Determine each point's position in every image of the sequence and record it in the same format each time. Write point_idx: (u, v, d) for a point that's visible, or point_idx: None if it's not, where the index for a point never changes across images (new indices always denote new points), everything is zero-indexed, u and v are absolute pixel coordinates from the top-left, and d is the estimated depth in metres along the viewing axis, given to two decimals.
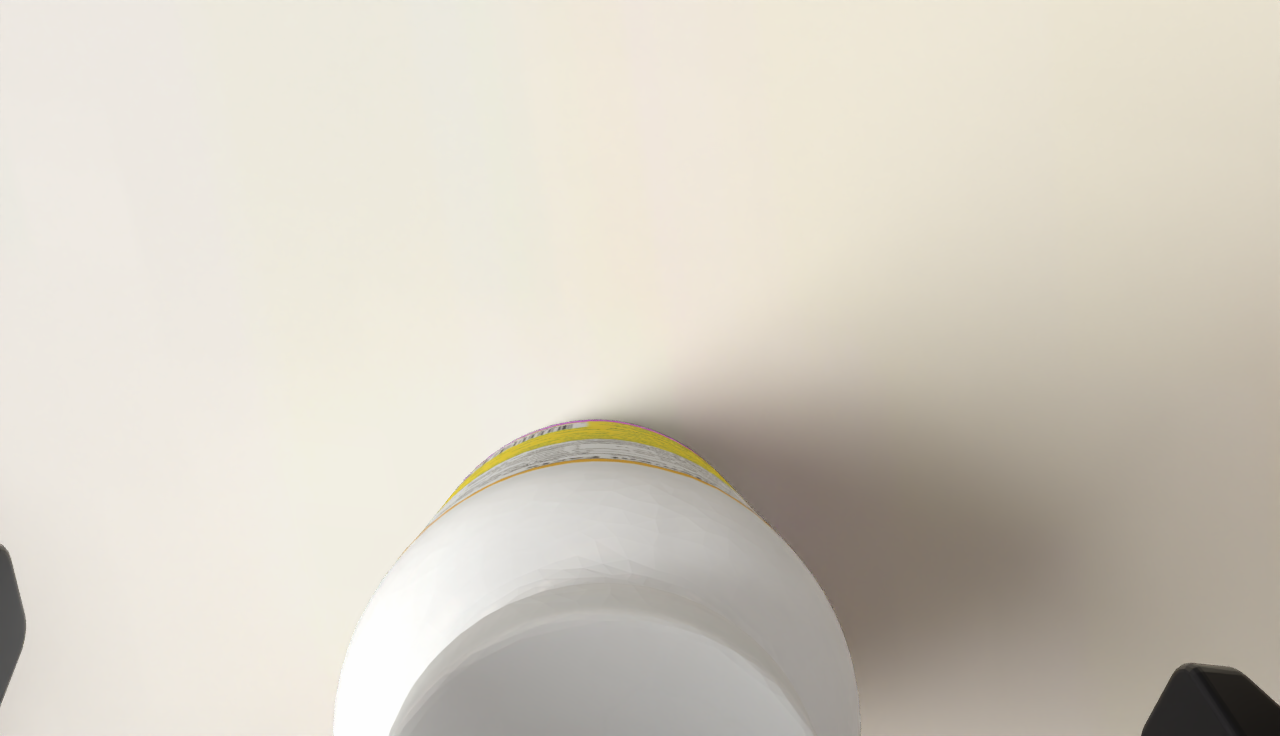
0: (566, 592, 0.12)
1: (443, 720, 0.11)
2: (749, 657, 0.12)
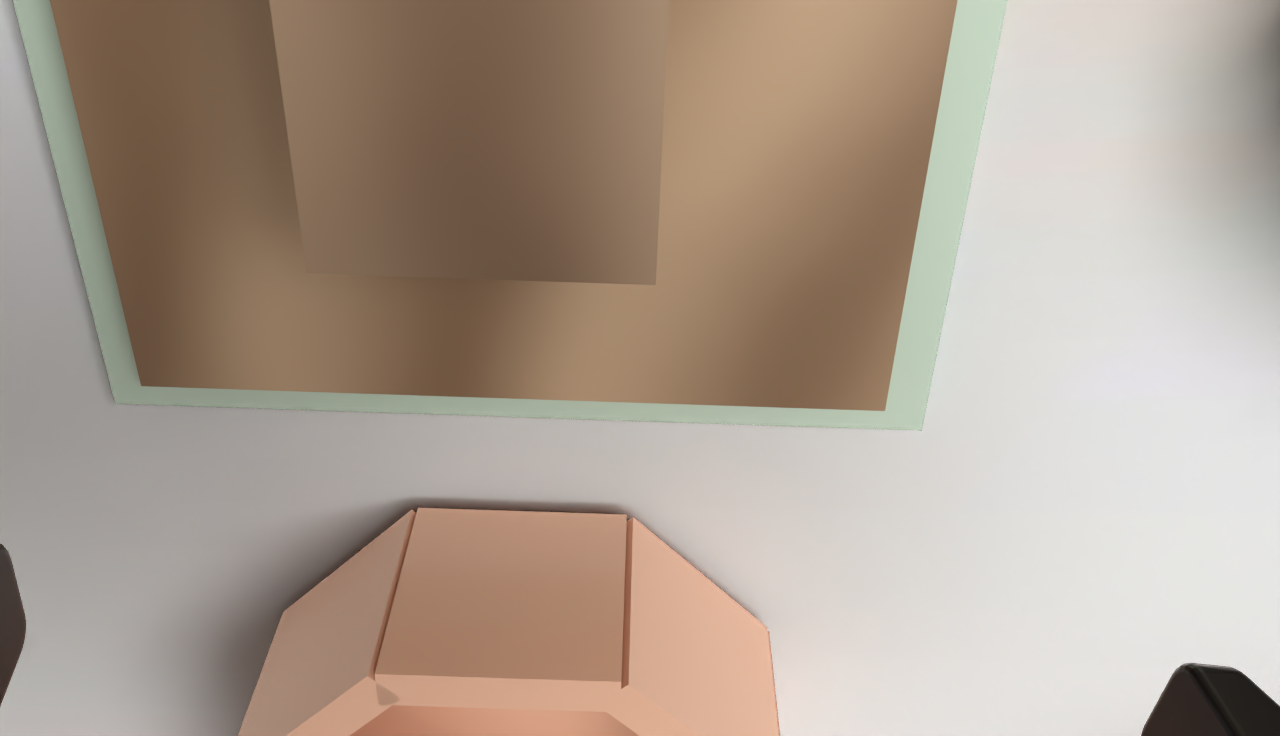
0: None
1: None
2: None
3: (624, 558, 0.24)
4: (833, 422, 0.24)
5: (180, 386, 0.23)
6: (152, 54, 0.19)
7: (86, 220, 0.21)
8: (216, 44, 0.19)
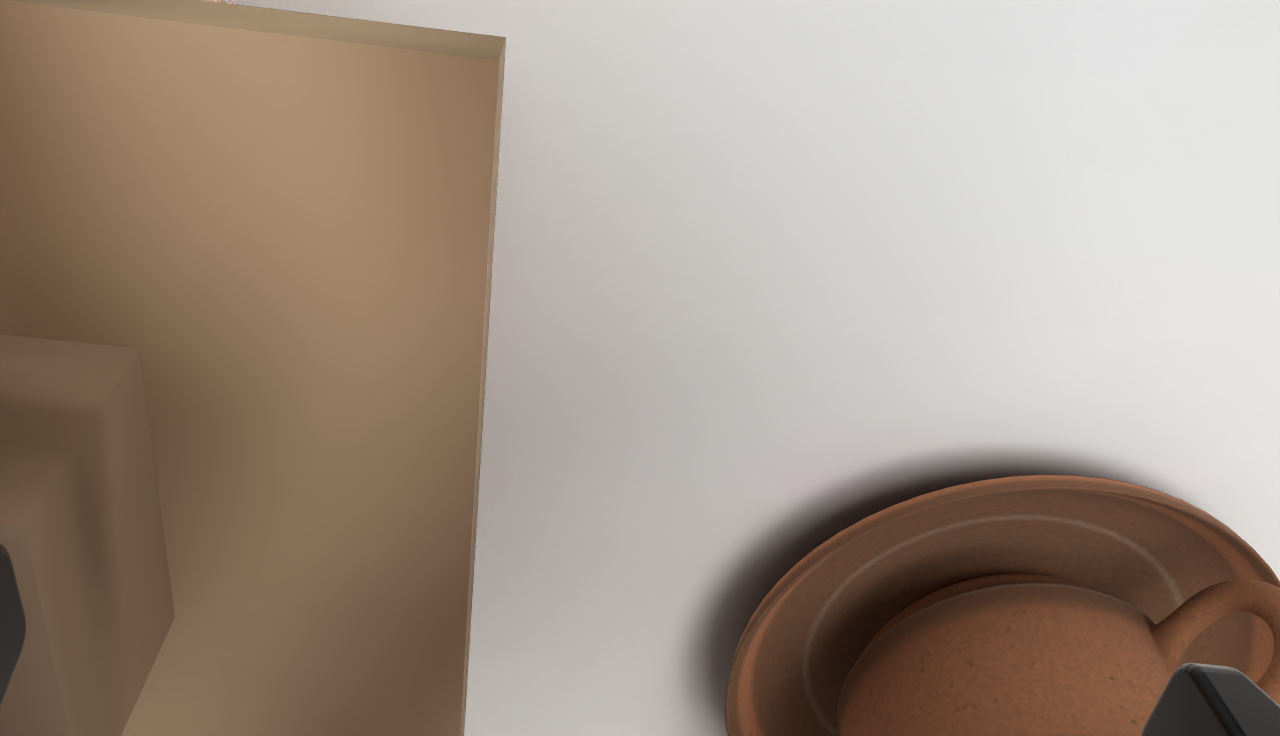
0: None
1: None
2: None
3: None
4: None
5: None
6: None
7: None
8: None
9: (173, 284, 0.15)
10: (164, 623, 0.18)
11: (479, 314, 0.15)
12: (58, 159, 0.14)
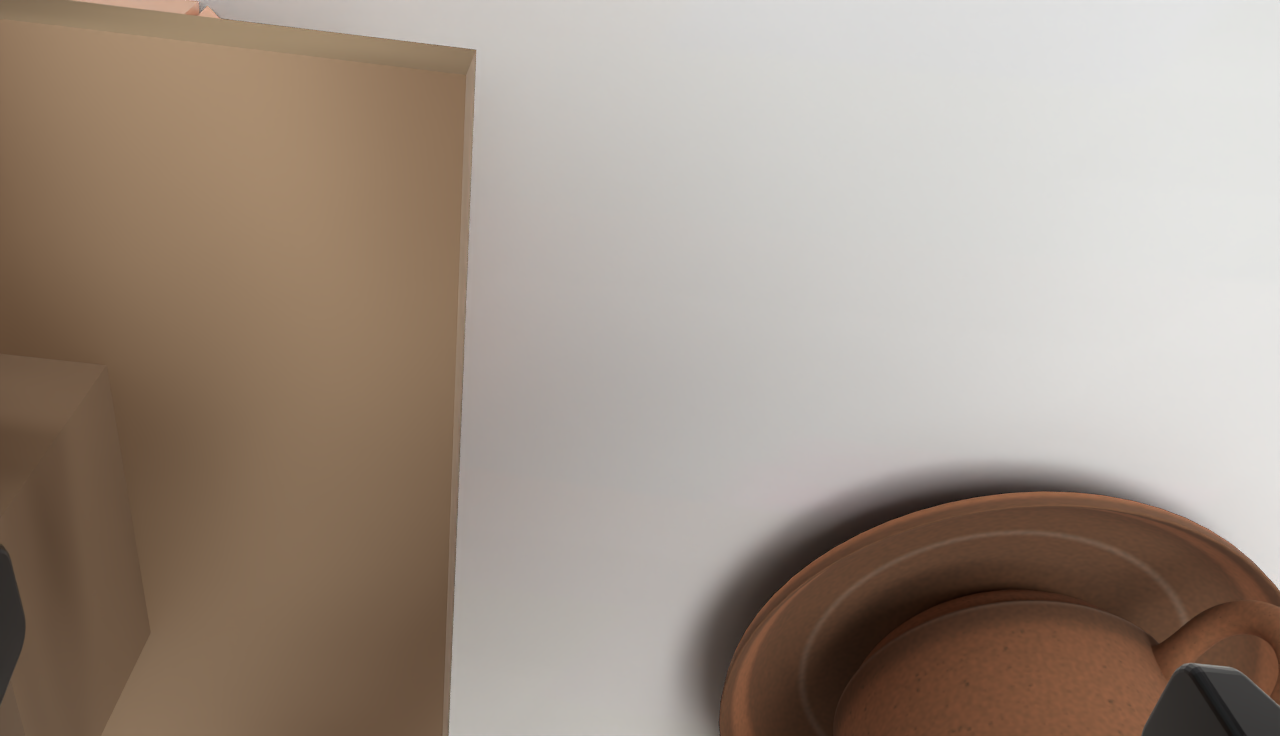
0: None
1: None
2: None
3: None
4: None
5: None
6: None
7: None
8: None
9: (139, 301, 0.15)
10: (138, 640, 0.18)
11: (452, 332, 0.15)
12: (19, 175, 0.14)
